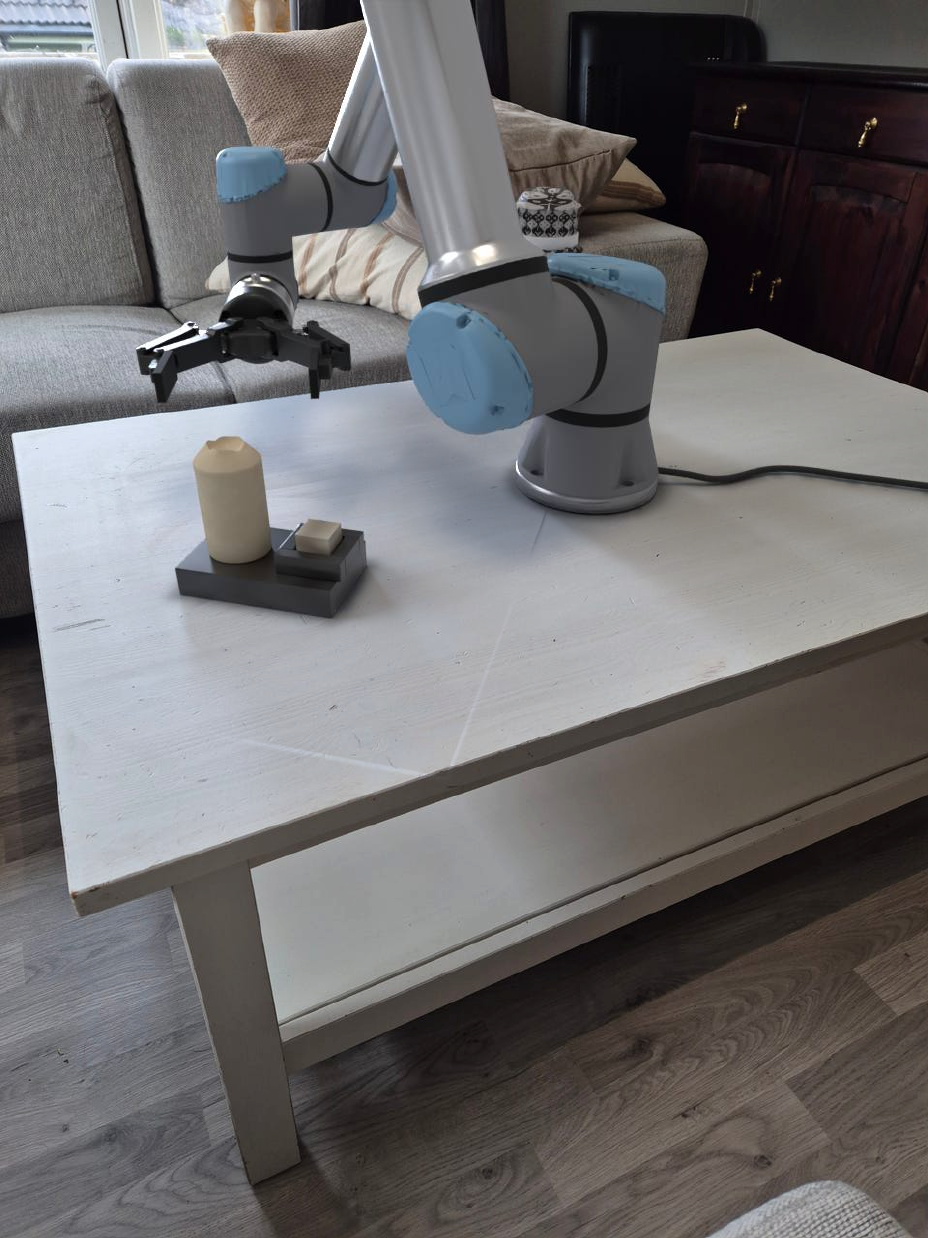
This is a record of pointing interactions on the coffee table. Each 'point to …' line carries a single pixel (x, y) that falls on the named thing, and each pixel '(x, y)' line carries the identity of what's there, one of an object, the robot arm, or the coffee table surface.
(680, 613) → the coffee table surface
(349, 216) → the robot arm
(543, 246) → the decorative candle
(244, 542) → the candle
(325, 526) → the key
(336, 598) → the grey stepped base
